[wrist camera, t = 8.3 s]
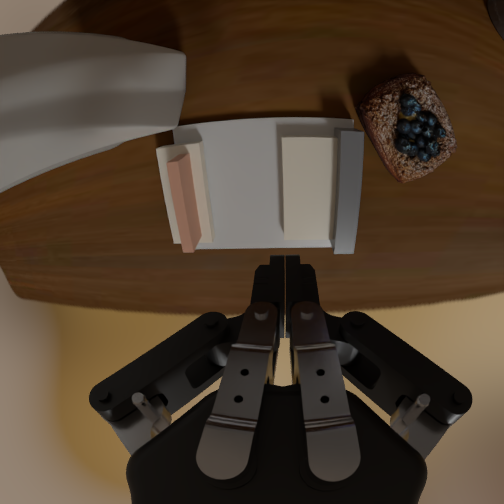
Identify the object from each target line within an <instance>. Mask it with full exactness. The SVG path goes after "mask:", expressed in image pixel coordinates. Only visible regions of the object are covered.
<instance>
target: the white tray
mask: <svg viewBox="0 0 504 504" xmlns="http://www.w3.org/2000/svg"><path fill="white" fill-rule="evenodd" d="M173 136H174V144H180V143H188V142H196V141H203V146H204V155H205V164H206V172H207V180H208V188H209V195H210V203H211V210H212V217H213V225H214V232H215V238H214V240H213V243H198V244H197V246H196V249H231V248H301V247H332V249H333V252H334V254H354V247H355V240H356V232H357V224H358V215H359V206H360V195H361V183H362V169H363V150H364V132H362V131H360V130H358V129H355V128H354V120H353V119H342V118H320V117H272V118H250V119H235V120H224V121H213V122H204V123H196V124H189V125H182V126H177V127H176V128H175V129H173Z"/></svg>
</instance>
